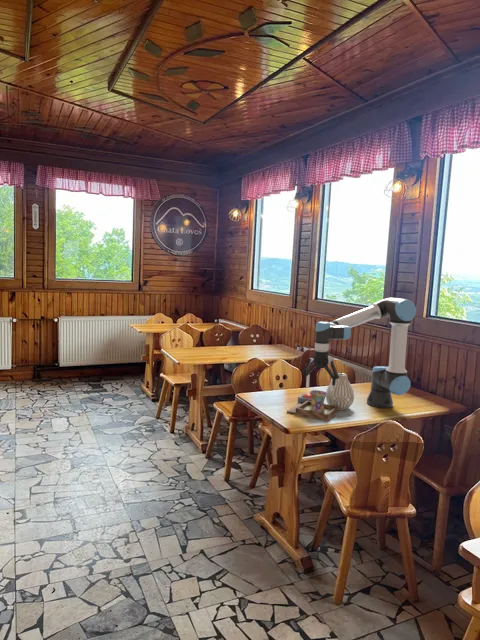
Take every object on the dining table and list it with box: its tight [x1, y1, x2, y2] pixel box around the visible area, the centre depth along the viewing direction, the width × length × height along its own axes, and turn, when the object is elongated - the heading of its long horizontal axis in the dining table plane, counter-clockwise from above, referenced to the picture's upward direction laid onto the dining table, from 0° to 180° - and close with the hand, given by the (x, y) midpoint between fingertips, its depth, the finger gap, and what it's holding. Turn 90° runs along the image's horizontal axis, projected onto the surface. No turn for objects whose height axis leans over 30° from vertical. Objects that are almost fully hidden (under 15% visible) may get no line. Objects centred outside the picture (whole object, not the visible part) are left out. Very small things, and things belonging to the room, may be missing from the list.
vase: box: [325, 372, 355, 411], centre depth 267 cm, size 16×16×20 cm
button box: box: [297, 393, 311, 404], centre depth 274 cm, size 9×9×4 cm
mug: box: [309, 389, 327, 413], centre depth 255 cm, size 12×9×11 cm
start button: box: [303, 393, 311, 399], centre depth 274 cm, size 5×5×4 cm
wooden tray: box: [286, 401, 339, 422], centre depth 256 cm, size 23×18×4 cm
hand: (319, 389), depth 254 cm, fingers open, 13 cm apart
